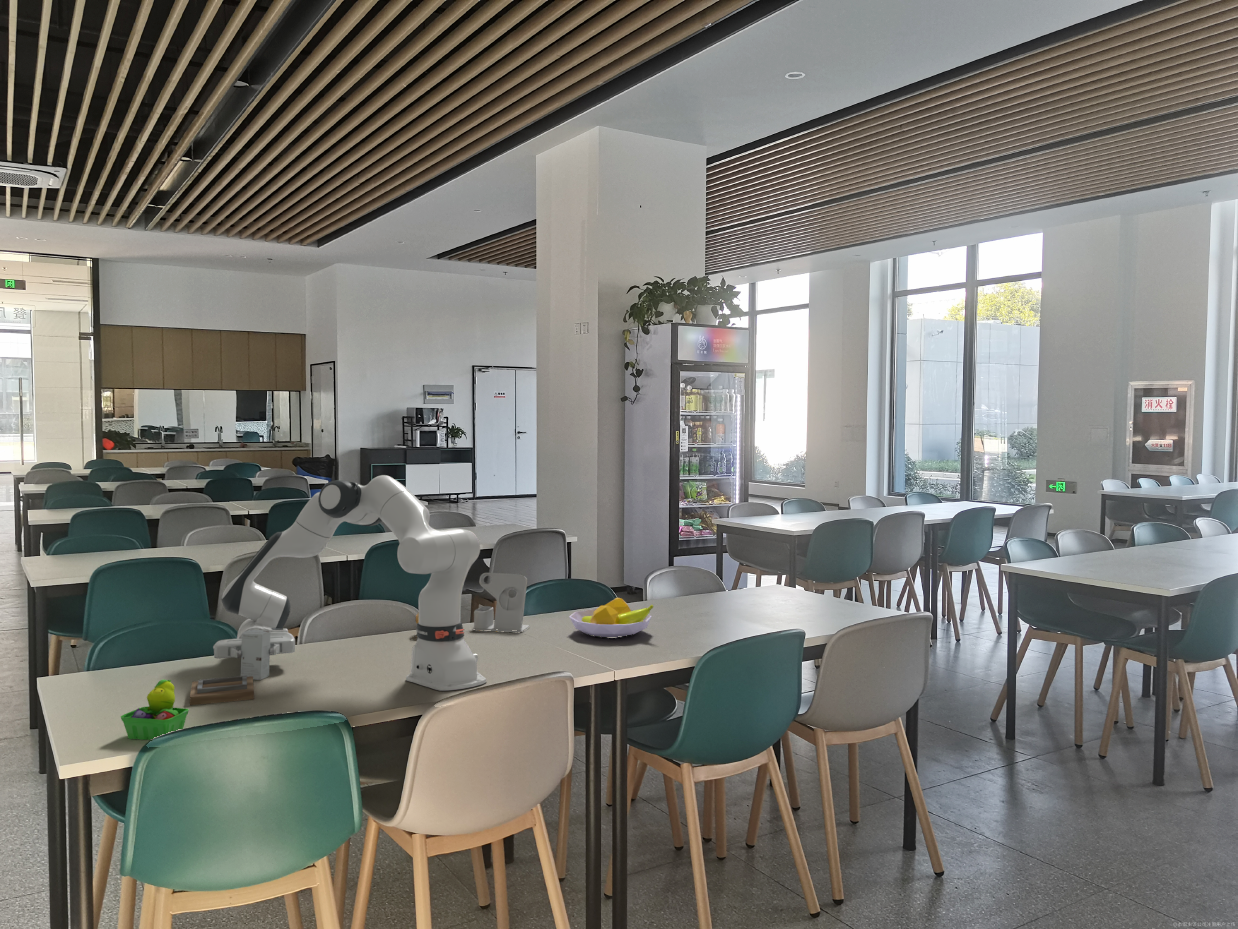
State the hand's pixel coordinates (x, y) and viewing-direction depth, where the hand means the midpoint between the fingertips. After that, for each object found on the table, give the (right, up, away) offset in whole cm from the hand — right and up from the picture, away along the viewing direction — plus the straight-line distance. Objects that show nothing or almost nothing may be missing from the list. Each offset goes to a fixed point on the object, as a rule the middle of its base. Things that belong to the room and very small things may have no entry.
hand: (255, 653), depth 235 cm
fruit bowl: (+93, -6, +57) cm, 109 cm away
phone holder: (+56, -5, +63) cm, 85 cm away
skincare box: (0, -7, +1) cm, 7 cm away
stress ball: (+35, -5, +53) cm, 64 cm away
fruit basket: (-3, -8, -44) cm, 45 cm away
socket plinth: (-2, -7, -14) cm, 16 cm away
